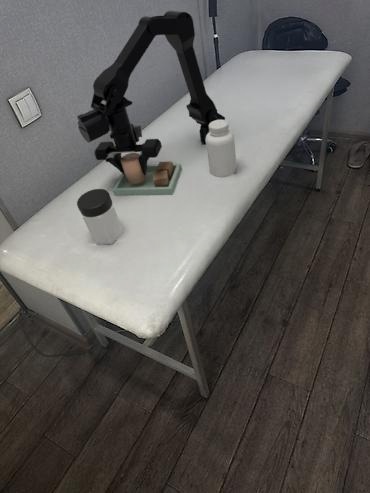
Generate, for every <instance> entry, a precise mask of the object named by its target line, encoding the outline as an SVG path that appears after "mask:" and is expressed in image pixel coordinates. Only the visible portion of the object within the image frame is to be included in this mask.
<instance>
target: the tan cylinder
mask: <svg viewBox="0 0 370 493" xmlns="http://www.w3.org/2000/svg"><path fill="white" fill-rule="evenodd" d="M121 157H122V158H121V160H120V161H121V164H122V167H123V170H124V173H125V176H126V179H127V182H128V183H130V184H138V183H141V182H143V181H144V180H145V179H146V177H147V176H146V175H144V174H143V172H142V169H141V166H140V163H139V161H138V159H139V157H140V152H130V153H125V155H123V156H121Z"/></svg>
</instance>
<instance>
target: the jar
mask: <svg viewBox="0 0 370 493" xmlns="http://www.w3.org/2000/svg"><path fill="white" fill-rule="evenodd" d="M76 206H77V208H78V211H79V212H80V214H81V216H82V219H83V221H84V224H85V225H86V228H87V229H88V231H89V233H90V236H91V238H92V239H93V241H94V244H96V245H113V244H114V243H115V242H116V241H117V239H118V238H120V237H121V236H122V235H123V234H124V233H125V232H124V229H123V227H122V226H123V225H122V223H121V221H120V219H119V216H118V213H117V211H116V208H115V206H114V204H113V199H112V197H111V195H110V193H109V191H108V190H106V189H104V188H94V189H91V190H88V191H86V192H85V193H83V194H81V195H80V197H79V198H78V199H77V201H76Z"/></svg>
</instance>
